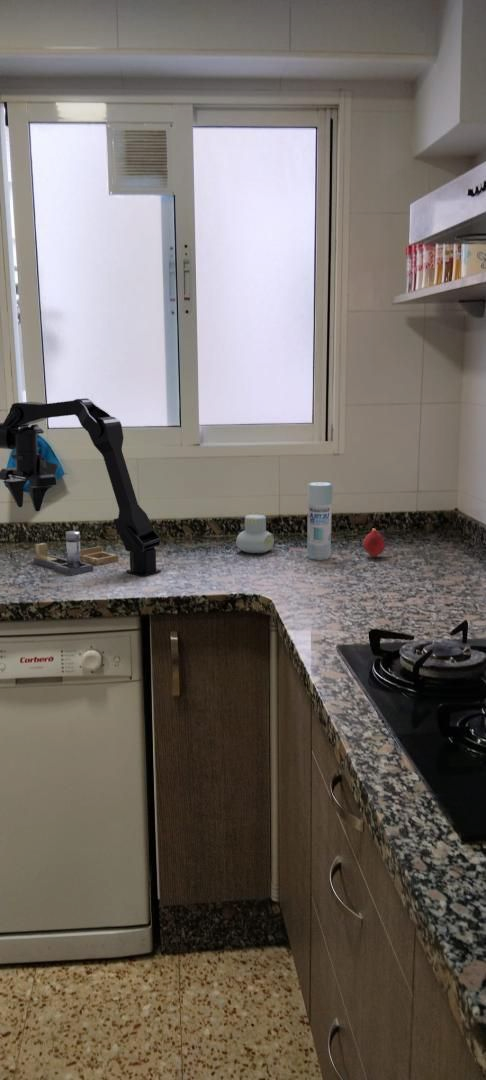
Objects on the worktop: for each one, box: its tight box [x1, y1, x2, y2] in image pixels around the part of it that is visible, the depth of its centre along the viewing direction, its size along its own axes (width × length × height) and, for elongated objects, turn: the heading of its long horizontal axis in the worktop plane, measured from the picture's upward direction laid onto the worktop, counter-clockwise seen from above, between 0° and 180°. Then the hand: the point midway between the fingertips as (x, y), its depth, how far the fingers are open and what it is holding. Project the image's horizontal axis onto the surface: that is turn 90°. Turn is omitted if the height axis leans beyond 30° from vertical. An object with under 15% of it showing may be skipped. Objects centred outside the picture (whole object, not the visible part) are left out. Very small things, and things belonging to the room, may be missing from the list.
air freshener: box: [235, 514, 275, 555], centre depth 243 cm, size 11×8×10 cm
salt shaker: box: [65, 530, 82, 568], centre depth 221 cm, size 4×4×10 cm
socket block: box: [33, 554, 94, 576], centre depth 226 cm, size 18×7×2 cm, turn 46°
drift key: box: [34, 542, 58, 563], centre depth 230 cm, size 7×2×4 cm, turn 46°
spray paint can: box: [306, 481, 333, 561], centre depth 235 cm, size 6×6×20 cm
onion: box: [362, 528, 386, 558], centre depth 236 cm, size 6×6×8 cm
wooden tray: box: [80, 545, 119, 566], centre depth 232 cm, size 8×7×3 cm
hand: (28, 509), depth 233 cm, fingers open, 8 cm apart
